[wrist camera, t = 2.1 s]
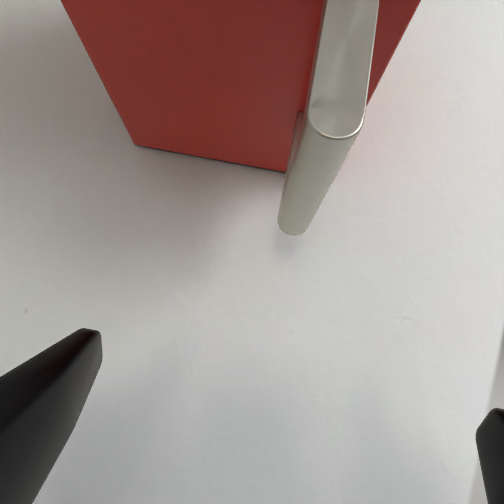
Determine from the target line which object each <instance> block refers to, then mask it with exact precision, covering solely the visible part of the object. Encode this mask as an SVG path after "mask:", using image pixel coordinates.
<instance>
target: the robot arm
mask: <svg viewBox="0 0 504 504" xmlns="http://www.w3.org/2000/svg"><path fill="white" fill-rule="evenodd" d="M101 363H102V341H101V334H100V332H99V331H96V330H91V329H86V328H82V329H79V330H77V331H76V332H74V333H72V334H71V335H69V336H67V337H66V338H64V339H62V340H61V341H59V342H57V343H56V344H54V345H52V346H51V347H49V348H47V349H46V350H44V351H42V352H41V353H39V354H37V355H36V356H34V357H33V358H31V359H29V360H28V361H26V362H24V363H23V364H21V365H19V366H18V367H16V368H14V369H13V370H11V371H9V372H8V373H6V374H4V375H3V376H1V377H0V504H32V503H33V502H34V500H35V498H36V496H37V494H38V493H39V491H40V489H41V487H42V485H43V484H44V482H45V480H46V478H47V476H48V475H49V473H50V471H51V469H52V467H53V466H54V464H55V462H56V460H57V458H58V457H59V455H60V453H61V451H62V449H63V448H64V446H65V444H66V442H67V440H68V439H69V437H70V435H71V433H72V431H73V429H74V427H75V425H76V422H77V420H78V418H79V416H80V413H81V411H82V409H83V406H84V404H85V402H86V399H87V397H88V394H89V392H90V390H91V387H92V385H93V383H94V380H95V378H96V376H97V373H98V371H99V369H100V366H101ZM476 444H477V449H478V454H479V460H480V465H481V470H482V475H483V480H484V485H485V491H486V496H487V500H488V504H504V409H500V408H494V409H492V410H491V411H490V412H489V413H488V415H487V416H486V418H485V419H484V420H483V422H482V423H481V424H480V426H479V427H478V429H477V431H476Z"/></svg>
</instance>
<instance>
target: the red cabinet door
mask: <svg viewBox="0 0 504 504" xmlns="http://www.w3.org/2000/svg"><path fill="white" fill-rule="evenodd" d="M420 1H421V0H61V2H62V4H63V6H64V8H65V10H66V12H67V14H68V16H69V18H70V20H71V22H72V24H73V26H74V28H75V30H76V31H77V33H78V35H79V37H80V39H81V41H82V43H83V45H84V47H85V49H86V51H87V53H88V55H89V57H90V59H91V61H92V63H93V65H94V67H95V69H96V70H97V72H98V74H99V76H100V78H101V80H102V82H103V84H104V86H105V88H106V90H107V92H108V94H109V96H110V98H111V100H112V102H113V104H114V106H115V107H116V109H117V111H118V113H119V115H120V117H121V119H122V121H123V123H124V125H125V127H126V129H127V131H128V133H129V135H130V137H131V139H132V141H133V143H134V144H135V145H140V146H145V147H151V148H156V149H162V150H167V151H173V152H178V153H184V154H189V155H195V156H200V157H206V158H211V159H216V160H222V161H227V162H233V163H238V164H244V165H249V166H255V167H260V168H266V169H271V170H277V171H282V172H286V174H285V180H284V186H283V191H282V197H281V202H280V208H279V214H278V224H279V227H280V228H281V230H282V231H283V232H285V233H286V234H289V235H300V234H302V233H303V232H305V231H306V230H307V228H308V226H309V224H310V223H311V221H312V219H313V217H314V215H315V213H316V211H317V210H318V208H319V206H320V204H321V202H322V200H323V199H324V197H325V195H326V193H327V191H328V189H329V187H330V186H331V184H332V182H333V180H334V178H335V176H336V174H337V173H338V171H339V169H340V167H341V165H342V163H343V161H344V160H345V158H346V156H347V154H348V152H349V150H350V148H351V147H352V145H353V143H354V141H355V139H356V137H357V135H358V134H359V132H360V130H361V128H362V126H363V123H364V118H365V111H366V106H367V105H368V103H369V101H370V99H371V97H372V95H373V93H374V91H375V89H376V87H377V85H378V83H379V81H380V79H381V77H382V75H383V73H384V71H385V69H386V67H387V65H388V64H389V62H390V60H391V58H392V56H393V54H394V52H395V50H396V48H397V46H398V44H399V42H400V40H401V38H402V36H403V34H404V32H405V30H406V28H407V26H408V24H409V23H410V21H411V19H412V17H413V15H414V13H415V11H416V9H417V7H418V5H419V3H420Z"/></svg>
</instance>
